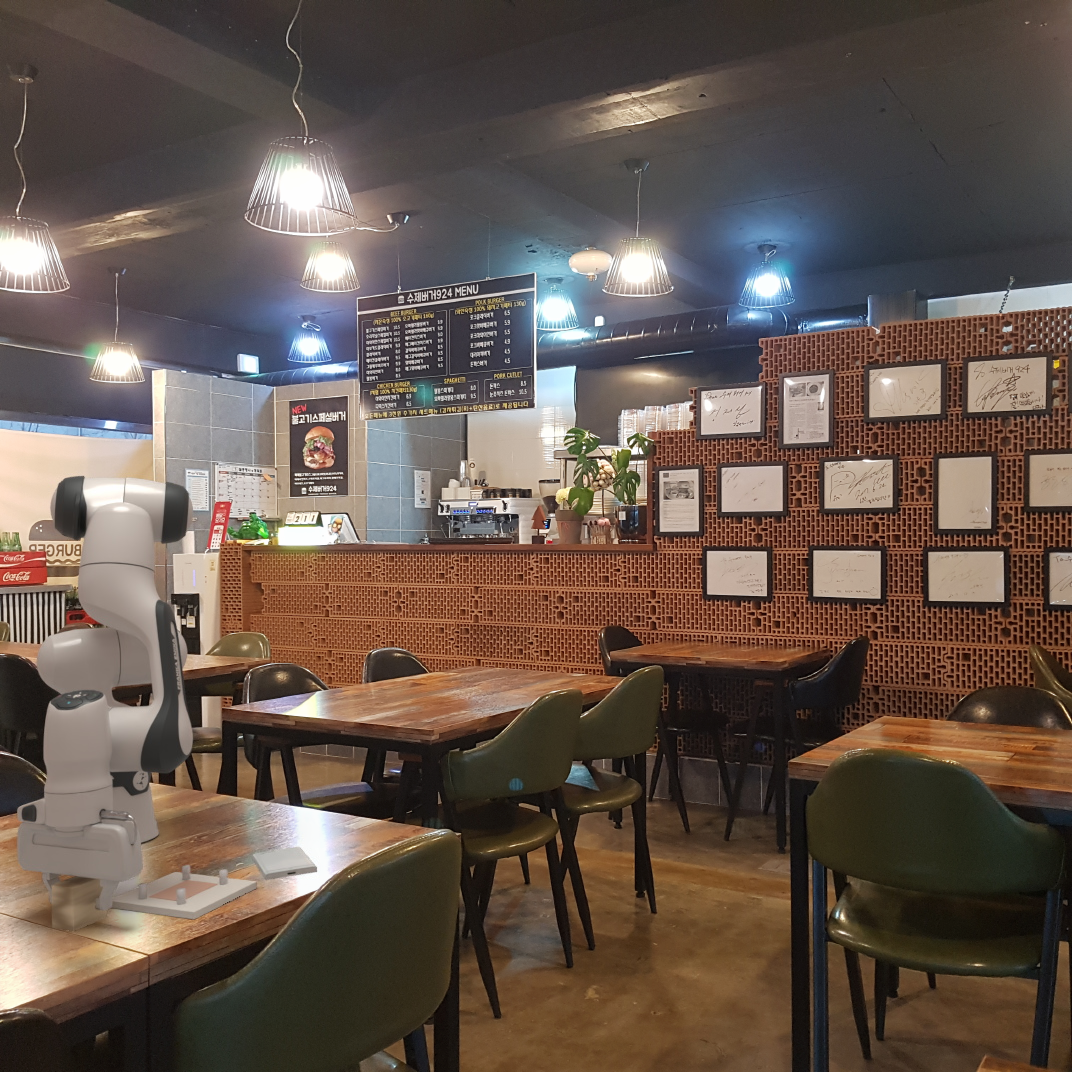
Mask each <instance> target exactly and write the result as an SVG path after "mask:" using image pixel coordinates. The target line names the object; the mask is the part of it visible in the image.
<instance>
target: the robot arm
mask: <svg viewBox="0 0 1072 1072" xmlns="http://www.w3.org/2000/svg"><path fill="white" fill-rule="evenodd" d="M49 508H50V515H51V520H52V522H53V524H54V528H55V530H56V531H58V533H59V534H60V535H62V536H63V537H66V538H69V539H73V540H74V541H78V542H79V541H80V540H81V539H83V541H82V542H83V543H82V547H81V553H80V559H79V570H78V580H77V595H78V602H79V603H80V606H81V608H82V609H83V610H84V612H85V613H86V614H87V616H89V618H91V619H93V620H94V621H95V622H97V623H99V624H100V625H103V626H105V627H97V628H95V627H94V628H79V629H77V628H75V629H72V630H68V631H63V632H57V633H55V634H51V635H48V637H47V638H46V639H44V641H43V642H42V644H41V645H40V647H39V649H38V652H37V656H36V669H37V671H38V672H37V673H38V674H39V676H40V678H41V680H42V681H43V682H44V683H45V684H46V685H47V686H48V687H50V688H51V689H53V690H55V691H56V692H58V695H57V696H55V697H54V698H53V699H51V700H50V701H49V703H48V706H47V709H46V715H45V723H44V731H43V732H44V733H43V762H44V765H45V769H46V779H45V784H44V787H43V788H44V789H43V790H44V791H43V792H44V794H43V795H44V796H43V797H41V798H40V799H37V800H35V801H31V802H28V803H26V804H23V805H21V806H19V807H17V810H16V812H17V813H16V815H17V817H16V818H17V820H18V821H19V822H21V823H20V824H19V826H18V829H17V834H16V835H17V838H16V839H17V840H16V843H17V844H16V845H17V846H16V847H17V848H16V849H17V851H16V852H17V862H18V864H19V865H20V868H21V869H22V870H24V871H29V872H30V871H31V872H38V873H42V874H41V875H42V877H41V878H42V881H43V884H44V885H45V887H46V889H47V892H48V895H49V898H48V899H49V901H48V902H49V904H52V889H51V885H54V884H56V883H59V882H61V879H60V876H62V875H63V876H71V877H75V876H78V877H86V878H94V879H100V886H101V887H103V889H102V892H101V894H100V896H98V897H96V898H95V904H96V905H95V909H96V910H102V911H106V910H107V911H108V910H110V909H112V908H111V907H112V905H113V903H112V898H113V895H114V894H115V892H116V889H117V887H118V886H119V883H125V882H127V881H129V880H132V879H135V878H137V877H139V875H140V874H141V872H142V871H143V869H144V857H143V847H142V843H145V842H147V841H149V840H152V839H154V838H156V837H157V836H158V835H159V834H160V831H159V828H158V820H156V815H155V809H154V803H153V795H152V787H151V785H150V783H151V778H152V773H157V774H169V773H171V772H173V771H174V770H176V769H177V768H178V767H179V766H181V765H182V764H184V762H186V760H187V759H188V758H189V756H190V755H191V754H192V750H193V742H194V735H193V734H194V733H193V728H192V722H191V717H190V712H189V707H188V702H187V696H186V689H185V680H184V671H183V669H184V668H185V666H186V664H187V663H186V662H187V659H188V646H187V643H186V641H185V638H184V636H183V635H182V633H181V632H180V631H179V630H178V627H177V622H176V617H175V614H174V611H173V609H172V607H171V605H170V604H169V603H168V602H166V601H163V600H161V598H160V596H159V593H158V591H157V587H156V583H155V582H156V580H155V574H156V573H155V572H156V546H155V545H156V543H161V544H162V545H165V544H172V543H177V542H180V541H181V540H182V539H183V538H185V537H186V536H187V535H186V534H187V532H188V531H189V529H190V527H191V525H192V522H193V519H194V507H193V503H192V500H191V498H190V493H189V491H188V490H187V489H186V487H184V486H183V485H180V484H177V483H175V482H170V481H166V482H160V481H155V480H151V479H144V478H138V477H128V476H126V478H125V477H114V476H113V477H111V476H110V477H109V476H106V477H105V476H103V477H102V476H96V477H95V476H94V477H86V476H85V475H75V476H69V477H65V478H64V479H62V480H61V481H60V482H59V483H58V484H57V487H56V489H55V490H54V492H53V494H52V497H51V499H50V507H49ZM147 684H151V688H152V696H153V697H152V698H153V699H152V702H151V704H149V705H143V706H140V705H139V706H130V705H128V704H126V703H123V702H119V701H117V700H116V699H115V698H114V696H113V692H112V691H113V688H116V687H124V686H135V685H147Z"/></svg>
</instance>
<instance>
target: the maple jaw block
mask: <svg viewBox="0 0 1072 1072" xmlns="http://www.w3.org/2000/svg"><path fill="white" fill-rule="evenodd" d="M51 889H52V903H51V928H52V929H53V928H55V929H54V930H59V929H62V930H61V931H66V930H69V931H68V932H72V931H74V932H76V931H78V929H79V930H81V929H83V928H86V927H88V926H90V925H92V924H94V923H97V922H99V921H102V920H103V919H106V918H108V910H106V911H102V910H96V909H95V905H96V904H95V898H96V897H98V896H100V894H101V892H102V889H103V887H101V886H100V879H94V878H86V877H78V876H71V877H70V878H68V879H64V880H62V881H60V882H59V883H56V884H54V885H51ZM87 925H88V926H87ZM80 928H81V929H80ZM75 930H76V931H75Z"/></svg>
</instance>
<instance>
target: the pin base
mask: <svg viewBox="0 0 1072 1072" xmlns="http://www.w3.org/2000/svg"><path fill="white" fill-rule="evenodd" d="M218 875H219V876H215V875H214V876H213V875H204V874H196V873H191V864H185V865H183V866H181V872H180V871H179V872H178V871H174V872H172V873H169V874H167V875H164V876H162V877H160V878H157V879H155V880H152V881H150V882H148V883H145V882H143V883H139V884H137V887H136V888H133V889H131V890H129V891H127V892H124V893H122V894H120V895H119V894H118V895H117V896H114V897H112V903H113V905H112V907H111V908H110V909H116V910H117V909H119V910H125V911H133V912H140V913H146V914H153V915H158V916H159V915H161V916H169V917H175V918H181V919H190V920H196V919H198V918H200V917H201V916H204V915H206V914H208V913H210V912H211V911H213V910H217V909H218V908H220V907H222V906H224V905H226V904H228V903H230V902H232V901H234V900H236V899H238V898H240V897H242V896H244V895H246V894H248V893H250V892H252V891H254V890H255V889H258V881H257V880H256V881H255V880H247V879H238V878H229V877H228V869H225V868H224V869H220V870H219V872H218ZM245 893H246V894H245ZM239 896H240V897H239ZM237 897H238V898H237ZM235 898H236V899H235ZM233 899H234V900H233ZM229 901H230V902H229ZM227 902H228V903H227ZM225 903H226V904H225ZM223 904H224V905H223Z"/></svg>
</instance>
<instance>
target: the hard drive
mask: <svg viewBox="0 0 1072 1072" xmlns="http://www.w3.org/2000/svg"><path fill="white" fill-rule="evenodd" d="M251 860H252V862H253V863H254V865H256V867H257V869H258V870H259V872H260V874H261V875H262V877H263V878H264V880H265V881H268V880H275V879H279V878H280V879H281V878H288V877H293V876H300V875H301V876H302V875H305V874H312V873H317V872H318V867H317V865H316V864H315V863H314V862H313V861H312V860H311V858H310V857H309V856H308V855H307V853H306V852H305V851H304V850H303V848H302V847H300V846H293V847H288V848H281V849H275V850H269V851H268V850H267V851H261V852H256V853H253V854H252V857H251Z"/></svg>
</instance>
